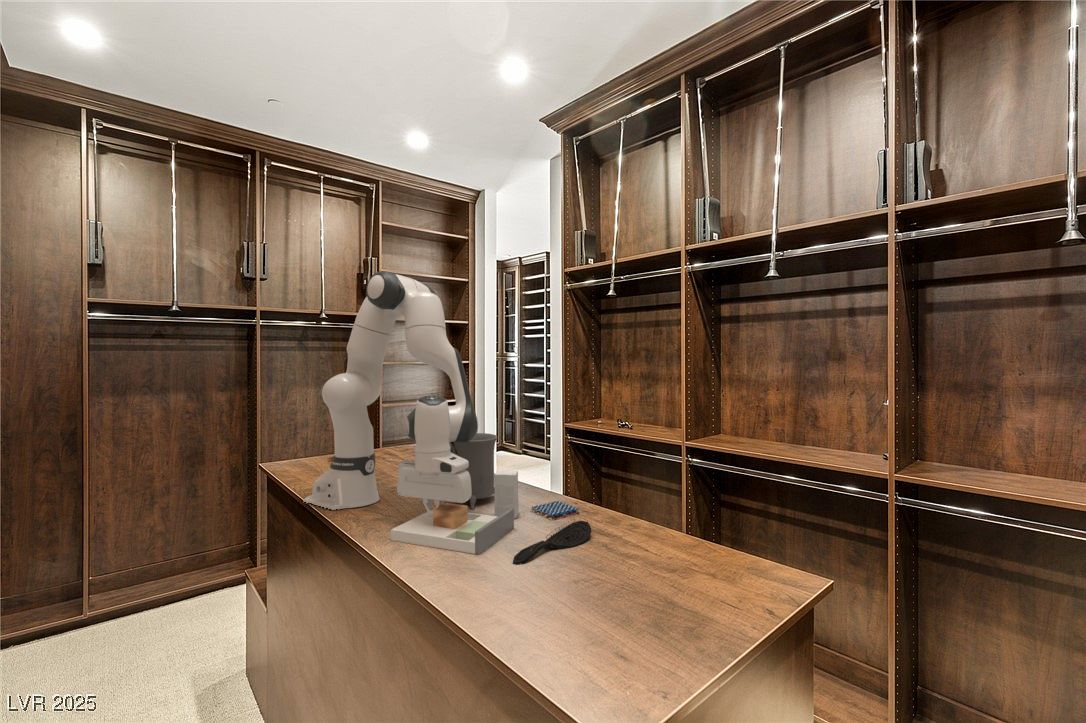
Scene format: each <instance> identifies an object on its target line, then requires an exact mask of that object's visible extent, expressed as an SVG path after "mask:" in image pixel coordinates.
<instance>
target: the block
mask: <svg viewBox="0 0 1086 723" xmlns="http://www.w3.org/2000/svg"><path fill="white" fill-rule="evenodd" d="M467 513H468V505H464V504H459V503H452V502H446V503H444V504H443V505H442V506H440V507H438V508H436V509H434V510H433V526H436V527H443V528H449V529H456V528H457V527H459V526H461V525H462V524H464V523H466V522H468V521H467Z"/></svg>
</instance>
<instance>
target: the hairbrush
mask: <svg viewBox="0 0 1086 723" xmlns="http://www.w3.org/2000/svg"><path fill="white" fill-rule="evenodd" d="M577 519H578V520H577V521H576V519H574V518H573V521H572V519H571V521H572V522H571V523H570V521H569V520H568V521H567V522H568V524H563V525H562V526H563V527H562V528H561V529H560V528H558V530H557V528H556V529H554V531H550V532H549V533H548V534H547V535H546V536H545V538H546V540H540V541H539V542H536V543H533V544H531V545H529V546H527V547H524V548H523V549H521V550H519V551H518V553H516V554H515V555H514V556H513V559H512V564H513V565H517V566H518V565H525V564H526V563H527V562H528V561H531V559H532V558H534V557H535V556H536V555H537V554H538V553H539V551H542V550H544V549H545V548H547V547H550V548H554V549H561V550H565V549H572V548H576V547H579V546H581V545H584V544H585V543H587V542H588V541H589V539H590V536H591V534H592V528H591V525H590V524H589V521H588V520H587V519H586V518H584V520H581V517H577ZM564 525H566V526H564Z"/></svg>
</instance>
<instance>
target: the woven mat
mask: <svg viewBox="0 0 1086 723" xmlns="http://www.w3.org/2000/svg"><path fill="white" fill-rule="evenodd" d="M530 510H531V511H530V513H533V514H535V515H537V516H541V517H543V518H545V519H546V520H549V521H554V520H559V519H563V518H566V517H571V516H574V514H575V515H578V514H580V513H581V512H580V511H579V510H580V508H579V507H578V508H577V507H576V506H573V505H570V504H567V503H565V502H562V501H559V500H558V501H556V500H554V501H553V502H552V501H550V502H549V503H544V504H543V503H542V504H540V505H538V504H536V505H532V506H531V508H530Z"/></svg>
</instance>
